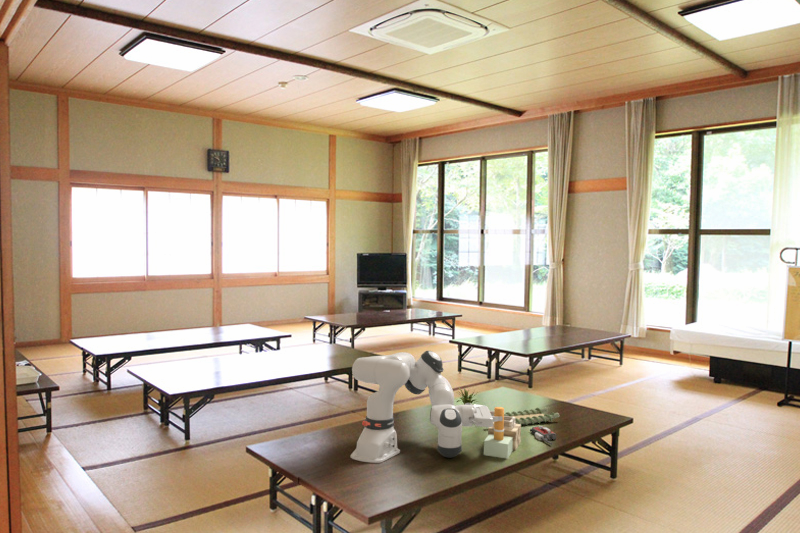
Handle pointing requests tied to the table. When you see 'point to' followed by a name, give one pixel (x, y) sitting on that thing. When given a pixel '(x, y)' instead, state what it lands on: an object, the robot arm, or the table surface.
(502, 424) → the orange cylinder
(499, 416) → the robot arm
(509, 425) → the tan stepped block
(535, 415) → the stretcher
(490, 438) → the block
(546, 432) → the walkie-talkie
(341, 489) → the table surface
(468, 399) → the house plant
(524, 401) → the table surface
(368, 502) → the table surface
